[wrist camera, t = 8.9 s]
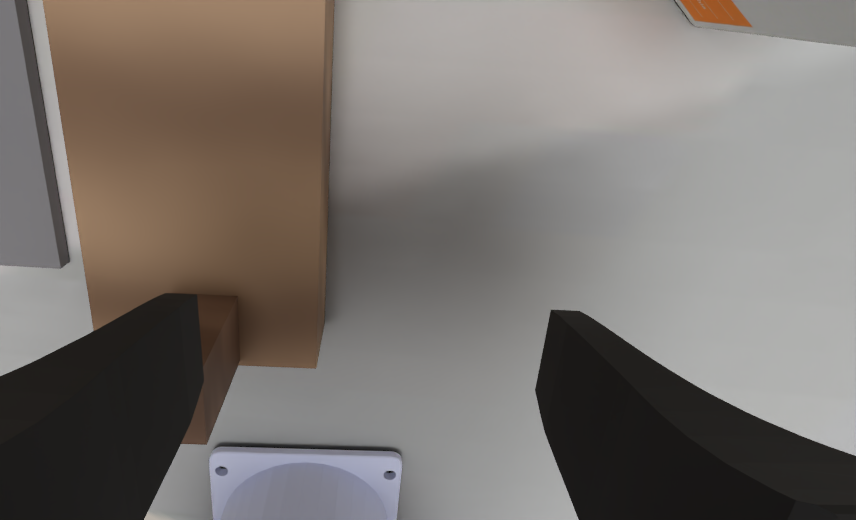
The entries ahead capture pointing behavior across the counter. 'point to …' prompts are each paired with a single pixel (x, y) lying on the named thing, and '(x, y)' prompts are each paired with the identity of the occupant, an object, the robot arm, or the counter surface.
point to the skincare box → (778, 18)
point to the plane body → (202, 168)
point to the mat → (25, 153)
